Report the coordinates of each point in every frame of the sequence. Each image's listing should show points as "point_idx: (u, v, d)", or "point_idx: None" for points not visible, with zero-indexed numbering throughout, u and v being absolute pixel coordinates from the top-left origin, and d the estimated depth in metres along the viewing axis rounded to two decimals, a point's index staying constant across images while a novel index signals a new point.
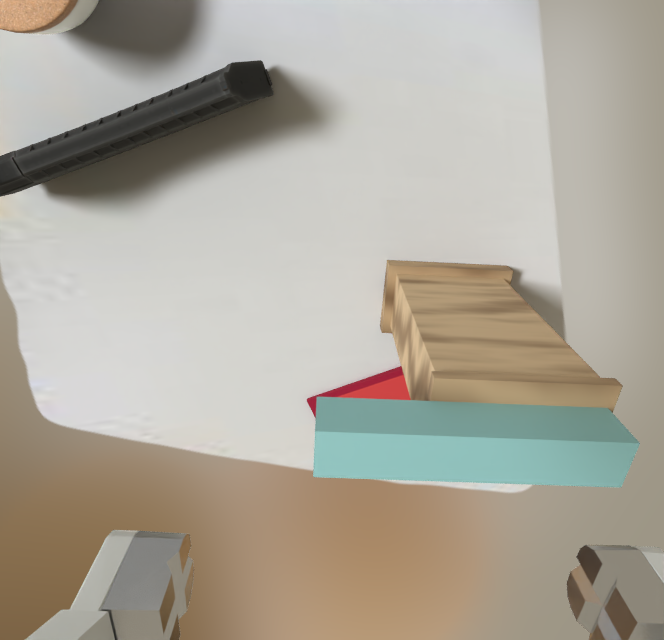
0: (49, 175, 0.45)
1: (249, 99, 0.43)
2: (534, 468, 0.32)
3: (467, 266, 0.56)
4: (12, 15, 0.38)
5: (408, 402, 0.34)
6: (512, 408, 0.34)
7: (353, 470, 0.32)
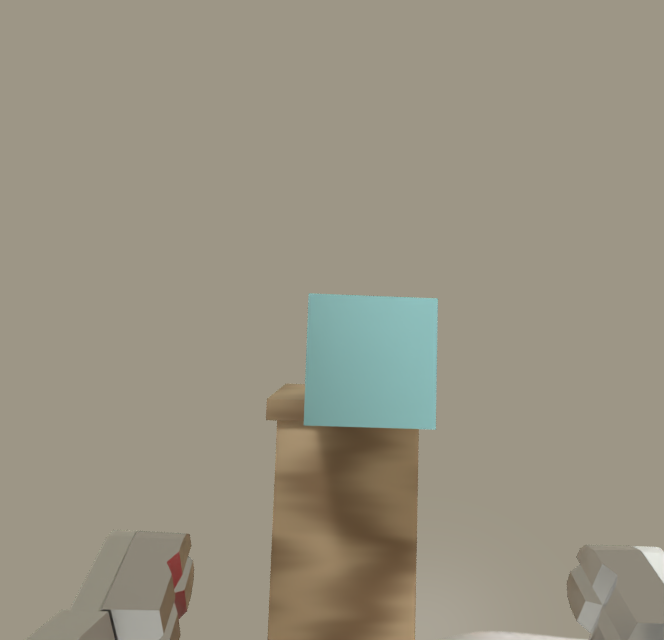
0: None
1: None
2: None
3: None
4: None
5: None
6: None
7: None
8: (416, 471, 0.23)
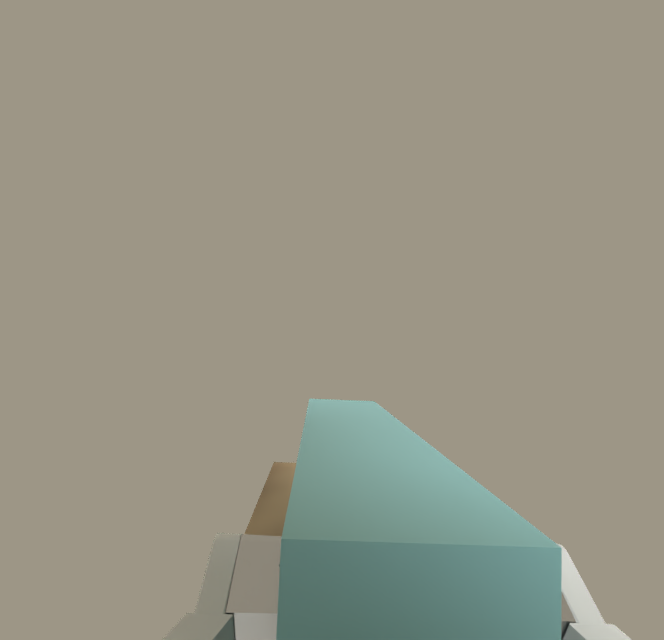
0: None
1: None
2: (360, 413, 0.22)
3: None
4: None
5: None
6: None
7: (454, 490, 0.09)
8: None
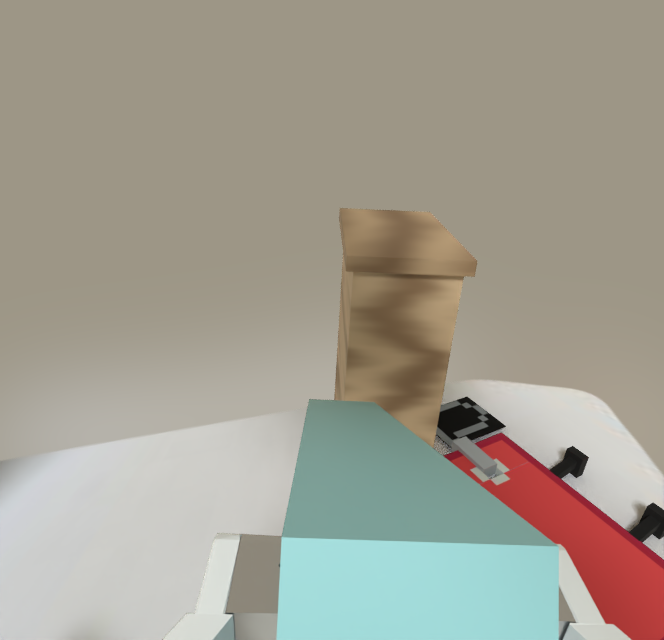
0: None
1: None
2: (360, 413, 0.22)
3: None
4: None
5: None
6: None
7: (453, 490, 0.09)
8: (457, 307, 0.30)
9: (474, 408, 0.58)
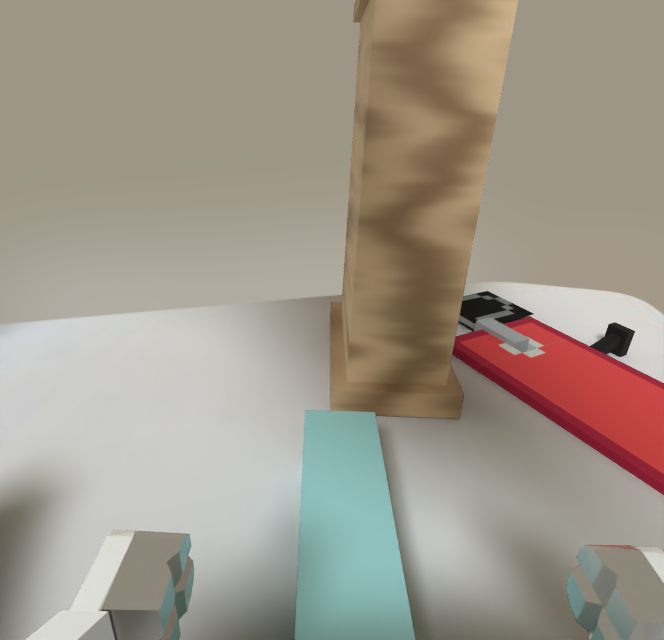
0: None
1: None
2: (358, 502, 0.21)
3: None
4: None
5: None
6: None
7: None
8: (508, 43, 0.23)
9: (496, 300, 0.51)
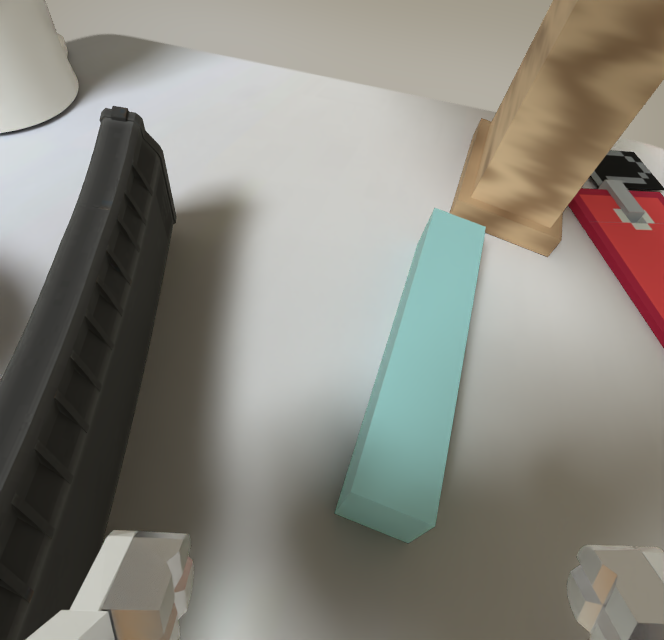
0: (26, 588, 0.13)
1: (162, 159, 0.26)
2: (454, 280, 0.30)
3: (470, 150, 0.45)
4: None
5: None
6: (398, 308, 0.32)
7: (430, 462, 0.22)
8: None
9: (637, 164, 0.51)
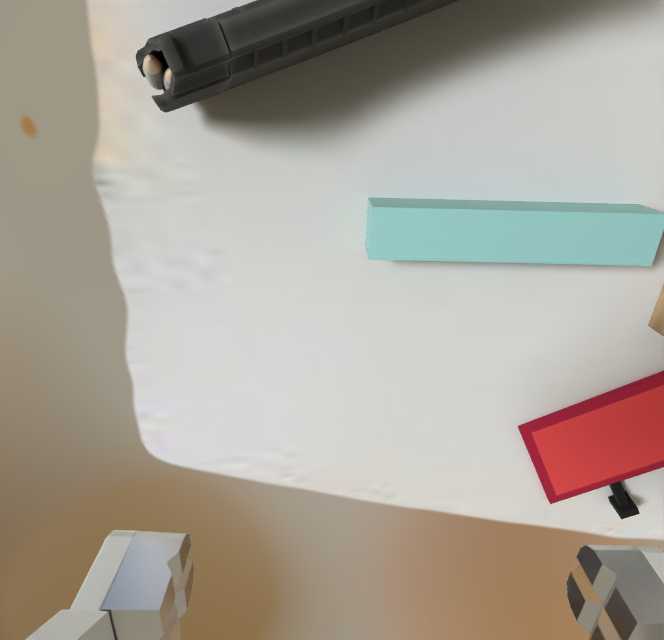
0: (257, 65, 0.26)
1: None
2: (572, 245, 0.35)
3: None
4: None
5: None
6: (548, 202, 0.37)
7: (405, 251, 0.35)
8: None
9: None
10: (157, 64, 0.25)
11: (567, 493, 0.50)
